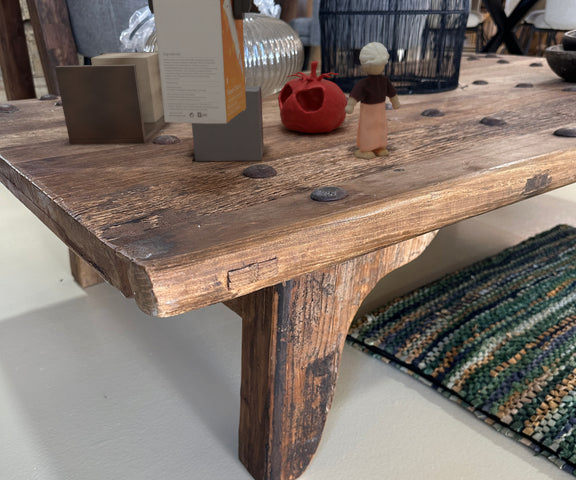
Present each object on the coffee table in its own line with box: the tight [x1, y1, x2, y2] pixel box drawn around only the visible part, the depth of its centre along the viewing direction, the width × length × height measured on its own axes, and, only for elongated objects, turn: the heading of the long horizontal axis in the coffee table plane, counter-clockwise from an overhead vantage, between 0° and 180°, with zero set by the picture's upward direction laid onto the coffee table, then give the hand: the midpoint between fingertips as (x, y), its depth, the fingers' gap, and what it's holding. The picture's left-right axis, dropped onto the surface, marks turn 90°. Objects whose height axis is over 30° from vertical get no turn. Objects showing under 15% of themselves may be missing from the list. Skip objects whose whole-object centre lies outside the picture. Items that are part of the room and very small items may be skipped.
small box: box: [153, 0, 246, 124], centre depth 54 cm, size 8×6×13 cm
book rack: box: [54, 51, 168, 145], centre depth 81 cm, size 10×18×10 cm, turn 178°
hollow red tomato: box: [277, 60, 348, 134], centre depth 81 cm, size 10×10×9 cm
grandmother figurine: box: [345, 41, 402, 160], centre depth 66 cm, size 8×4×13 cm, turn 131°
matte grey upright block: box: [191, 85, 265, 162], centre depth 68 cm, size 8×4×8 cm, turn 88°
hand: (201, 19), depth 53 cm, fingers closed on small box, 6 cm apart
